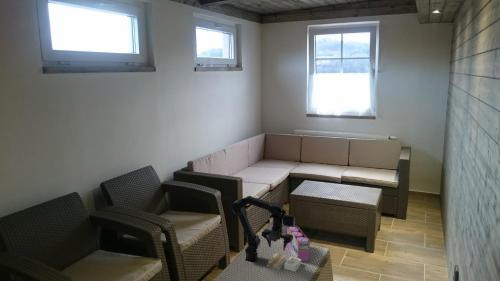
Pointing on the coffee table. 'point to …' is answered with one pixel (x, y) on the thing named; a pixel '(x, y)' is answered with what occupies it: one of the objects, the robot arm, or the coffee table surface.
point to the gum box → (299, 243)
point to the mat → (279, 267)
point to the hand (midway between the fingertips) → (276, 248)
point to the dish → (292, 264)
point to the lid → (276, 261)
